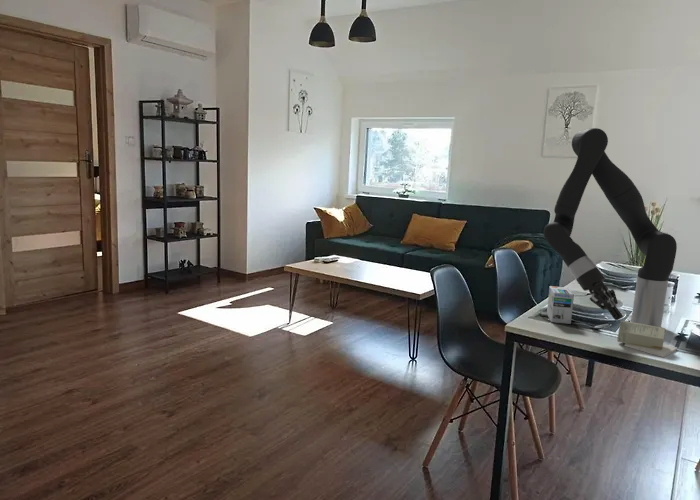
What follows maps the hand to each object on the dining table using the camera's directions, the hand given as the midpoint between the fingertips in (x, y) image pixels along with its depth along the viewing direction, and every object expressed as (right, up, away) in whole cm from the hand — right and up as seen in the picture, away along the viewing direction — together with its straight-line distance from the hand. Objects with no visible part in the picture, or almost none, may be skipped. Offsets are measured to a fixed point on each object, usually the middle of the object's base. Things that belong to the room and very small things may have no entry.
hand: (619, 318), depth 164 cm
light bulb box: (-10, -3, +22) cm, 25 cm away
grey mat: (+8, -8, -4) cm, 12 cm away
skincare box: (0, -4, +1) cm, 4 cm away
